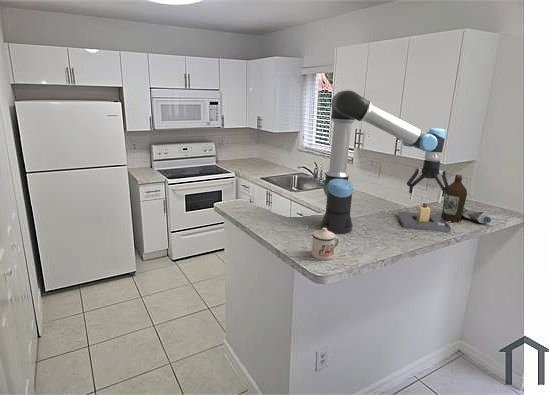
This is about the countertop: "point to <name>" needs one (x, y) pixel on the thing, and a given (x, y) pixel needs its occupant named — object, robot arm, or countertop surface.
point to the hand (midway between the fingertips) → (424, 200)
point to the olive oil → (454, 201)
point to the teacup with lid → (323, 244)
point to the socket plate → (434, 222)
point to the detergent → (476, 216)
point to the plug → (423, 213)
